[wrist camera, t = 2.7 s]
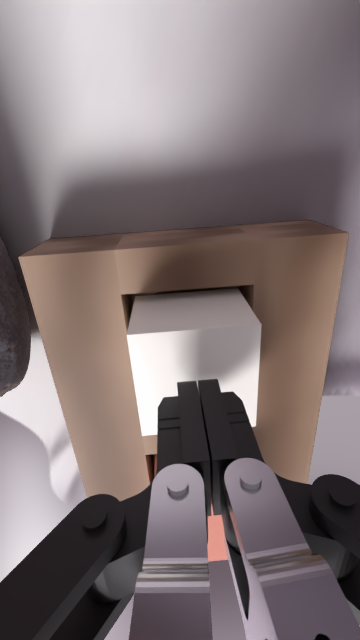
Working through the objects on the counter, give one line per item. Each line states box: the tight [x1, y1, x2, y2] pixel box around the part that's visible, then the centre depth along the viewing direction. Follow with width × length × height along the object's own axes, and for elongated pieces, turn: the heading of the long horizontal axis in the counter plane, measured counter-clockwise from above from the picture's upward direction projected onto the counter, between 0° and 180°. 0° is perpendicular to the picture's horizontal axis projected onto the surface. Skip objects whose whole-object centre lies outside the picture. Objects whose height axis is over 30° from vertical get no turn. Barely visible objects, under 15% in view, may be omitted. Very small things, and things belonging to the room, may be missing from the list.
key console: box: [18, 220, 349, 501], centre depth 19 cm, size 14×20×4 cm
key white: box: [127, 288, 262, 436], centre depth 14 cm, size 5×5×4 cm
